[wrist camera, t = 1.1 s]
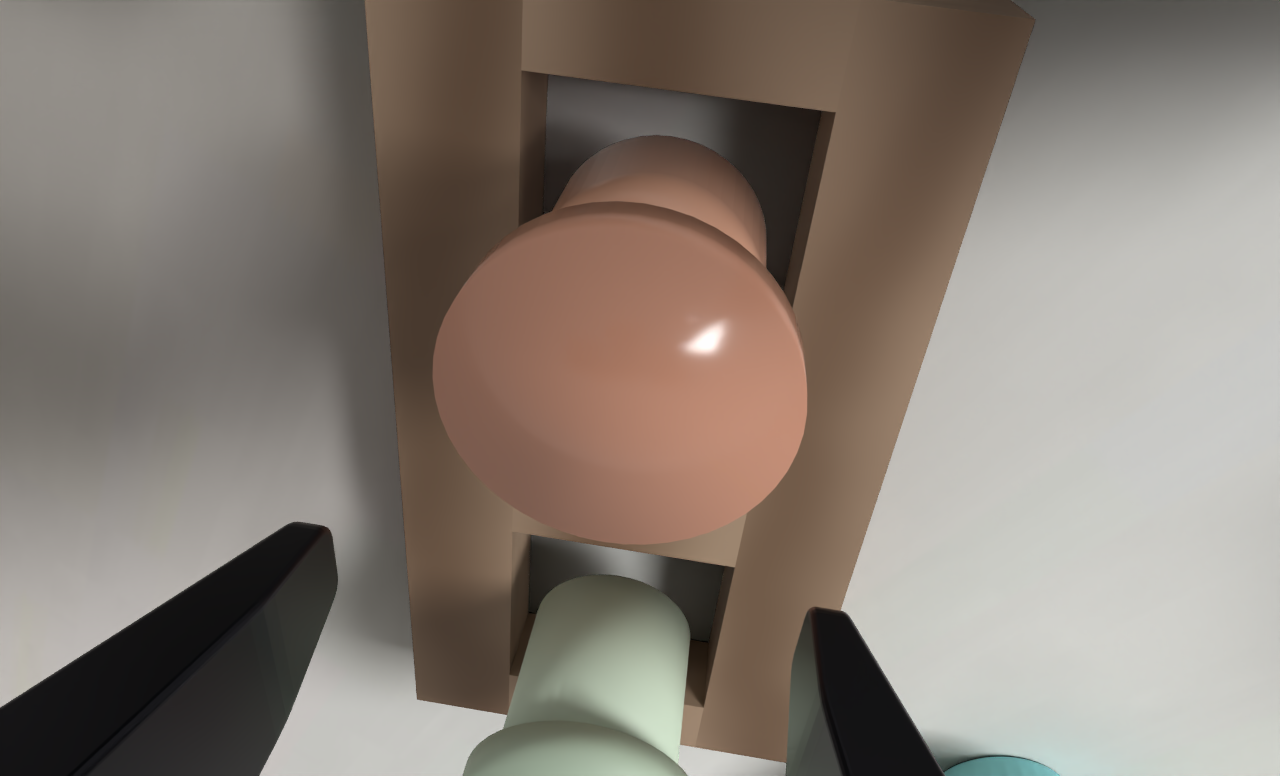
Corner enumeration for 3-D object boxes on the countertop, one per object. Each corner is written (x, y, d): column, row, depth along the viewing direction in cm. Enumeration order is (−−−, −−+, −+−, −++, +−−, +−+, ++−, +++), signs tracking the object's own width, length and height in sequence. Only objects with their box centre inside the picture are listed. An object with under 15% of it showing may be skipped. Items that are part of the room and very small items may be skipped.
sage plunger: (725, 576, 23) (713, 788, 18) (697, 708, 26) (680, 919, 21) (517, 543, 23) (448, 742, 18) (514, 677, 26) (454, 878, 21)
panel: (1003, -6, 17) (1036, 19, 15) (788, 696, 29) (789, 763, 27) (407, -81, 18) (359, -66, 16) (441, 638, 30) (417, 699, 28)
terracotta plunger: (823, 124, 16) (847, 261, 11) (769, 374, 19) (769, 568, 14) (529, 85, 16) (424, 201, 11) (522, 337, 20) (438, 515, 15)
